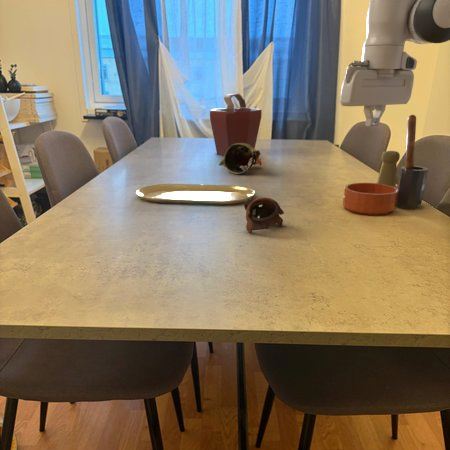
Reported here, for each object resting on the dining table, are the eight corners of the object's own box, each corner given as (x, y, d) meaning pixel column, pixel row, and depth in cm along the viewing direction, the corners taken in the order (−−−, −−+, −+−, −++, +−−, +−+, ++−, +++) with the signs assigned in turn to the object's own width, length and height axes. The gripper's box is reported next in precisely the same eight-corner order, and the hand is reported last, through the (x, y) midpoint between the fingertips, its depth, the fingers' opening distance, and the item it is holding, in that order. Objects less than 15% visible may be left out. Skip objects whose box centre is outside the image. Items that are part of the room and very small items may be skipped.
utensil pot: (414, 202, 121) (421, 165, 116) (424, 209, 115) (433, 170, 110) (390, 202, 121) (396, 165, 116) (399, 209, 115) (406, 170, 110)
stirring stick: (410, 200, 118) (414, 114, 109) (413, 202, 116) (417, 114, 107) (402, 201, 118) (406, 115, 109) (405, 203, 116) (409, 115, 107)
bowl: (385, 202, 121) (388, 182, 118) (402, 216, 109) (406, 194, 106) (337, 202, 121) (339, 182, 118) (349, 216, 109) (352, 194, 106)
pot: (275, 143, 162) (255, 132, 146) (279, 173, 163) (259, 165, 147) (234, 156, 171) (212, 146, 155) (238, 184, 171) (216, 177, 155)
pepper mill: (377, 189, 135) (382, 152, 130) (374, 184, 140) (379, 149, 135) (397, 189, 134) (403, 152, 129) (393, 185, 139) (400, 149, 134)
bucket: (240, 159, 184) (240, 94, 172) (198, 155, 195) (196, 94, 183) (267, 151, 202) (269, 92, 191) (227, 148, 213) (227, 92, 201)
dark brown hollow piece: (294, 230, 101) (291, 204, 94) (265, 254, 99) (260, 230, 92) (258, 207, 107) (254, 181, 100) (231, 229, 105) (224, 205, 98)
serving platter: (147, 188, 138) (147, 183, 137) (256, 191, 133) (257, 185, 133) (127, 203, 121) (127, 197, 121) (251, 207, 117) (251, 201, 116)
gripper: (358, 59, 92) (350, 129, 98) (422, 61, 101) (410, 124, 107) (337, 60, 97) (330, 126, 103) (400, 62, 106) (390, 122, 112)
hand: (372, 125), depth 105 cm, fingers closed
